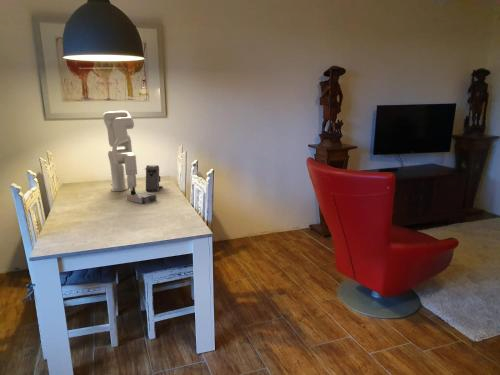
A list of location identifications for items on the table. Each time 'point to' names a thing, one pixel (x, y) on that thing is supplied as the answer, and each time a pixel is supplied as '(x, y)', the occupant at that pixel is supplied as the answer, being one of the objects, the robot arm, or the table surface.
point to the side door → (135, 198)
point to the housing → (147, 197)
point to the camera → (152, 178)
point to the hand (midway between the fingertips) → (133, 197)
